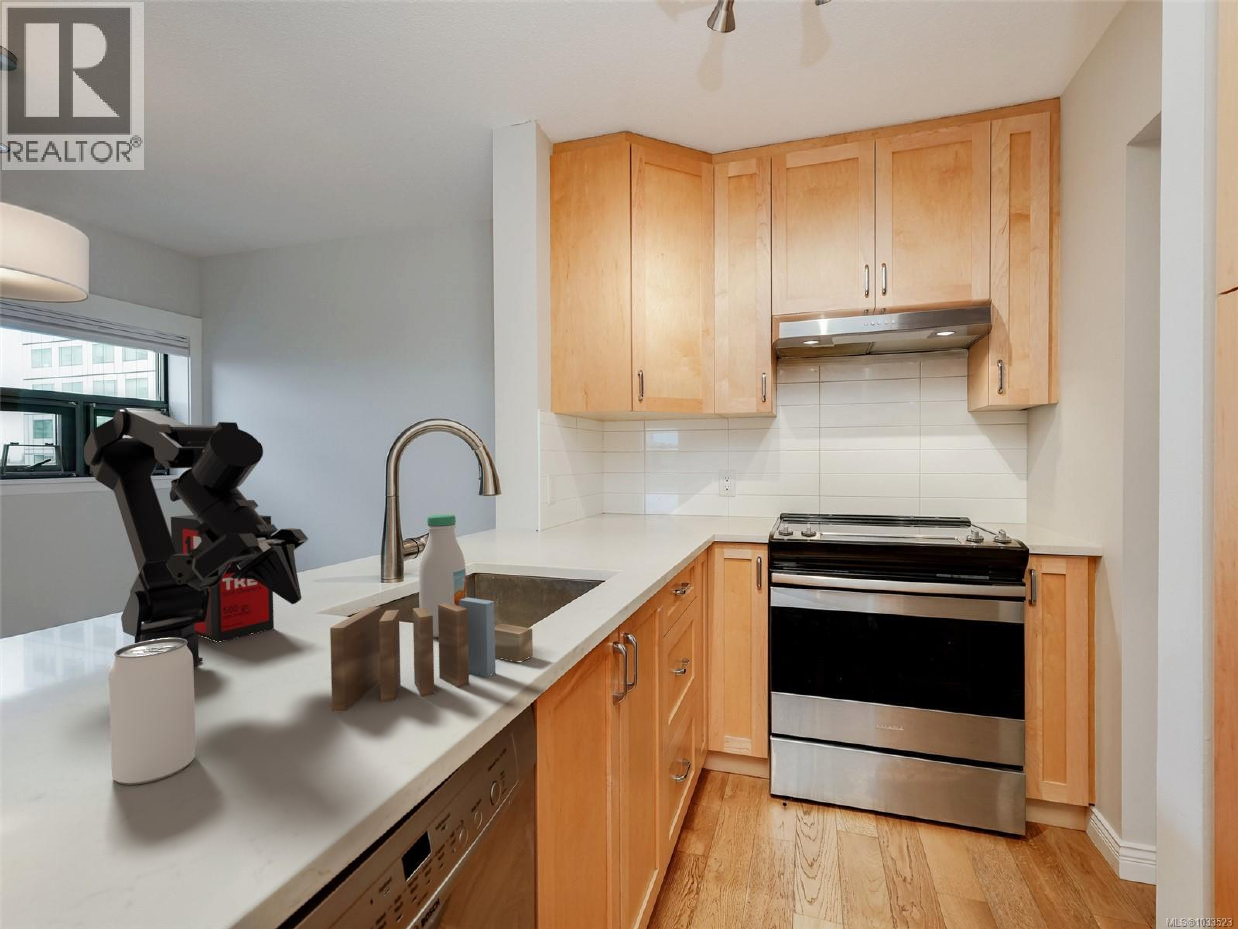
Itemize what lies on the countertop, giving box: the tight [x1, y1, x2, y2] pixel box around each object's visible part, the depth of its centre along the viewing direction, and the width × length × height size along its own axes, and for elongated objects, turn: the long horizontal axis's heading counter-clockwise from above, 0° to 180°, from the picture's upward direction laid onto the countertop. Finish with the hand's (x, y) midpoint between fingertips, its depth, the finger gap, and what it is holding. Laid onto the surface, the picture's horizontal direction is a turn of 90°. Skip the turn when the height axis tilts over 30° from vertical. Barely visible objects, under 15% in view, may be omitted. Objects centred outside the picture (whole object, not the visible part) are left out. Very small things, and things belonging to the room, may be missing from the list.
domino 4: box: [438, 603, 470, 689], centre depth 79 cm, size 2×5×10 cm, turn 44°
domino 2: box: [379, 609, 402, 703], centre depth 76 cm, size 2×5×10 cm, turn 12°
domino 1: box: [329, 606, 382, 712], centre depth 75 cm, size 2×10×10 cm, turn 176°
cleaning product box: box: [170, 514, 275, 643], centre depth 105 cm, size 16×9×20 cm, turn 58°
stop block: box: [495, 623, 534, 662], centre depth 89 cm, size 3×6×4 cm, turn 60°
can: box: [108, 638, 197, 786], centre depth 58 cm, size 6×6×12 cm
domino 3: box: [412, 606, 435, 697], centre depth 77 cm, size 2×5×10 cm, turn 28°
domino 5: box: [459, 596, 496, 678], centre depth 82 cm, size 2×5×10 cm, turn 60°
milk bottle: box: [418, 514, 467, 638], centre depth 101 cm, size 8×8×20 cm
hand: (297, 601), depth 77 cm, fingers closed
